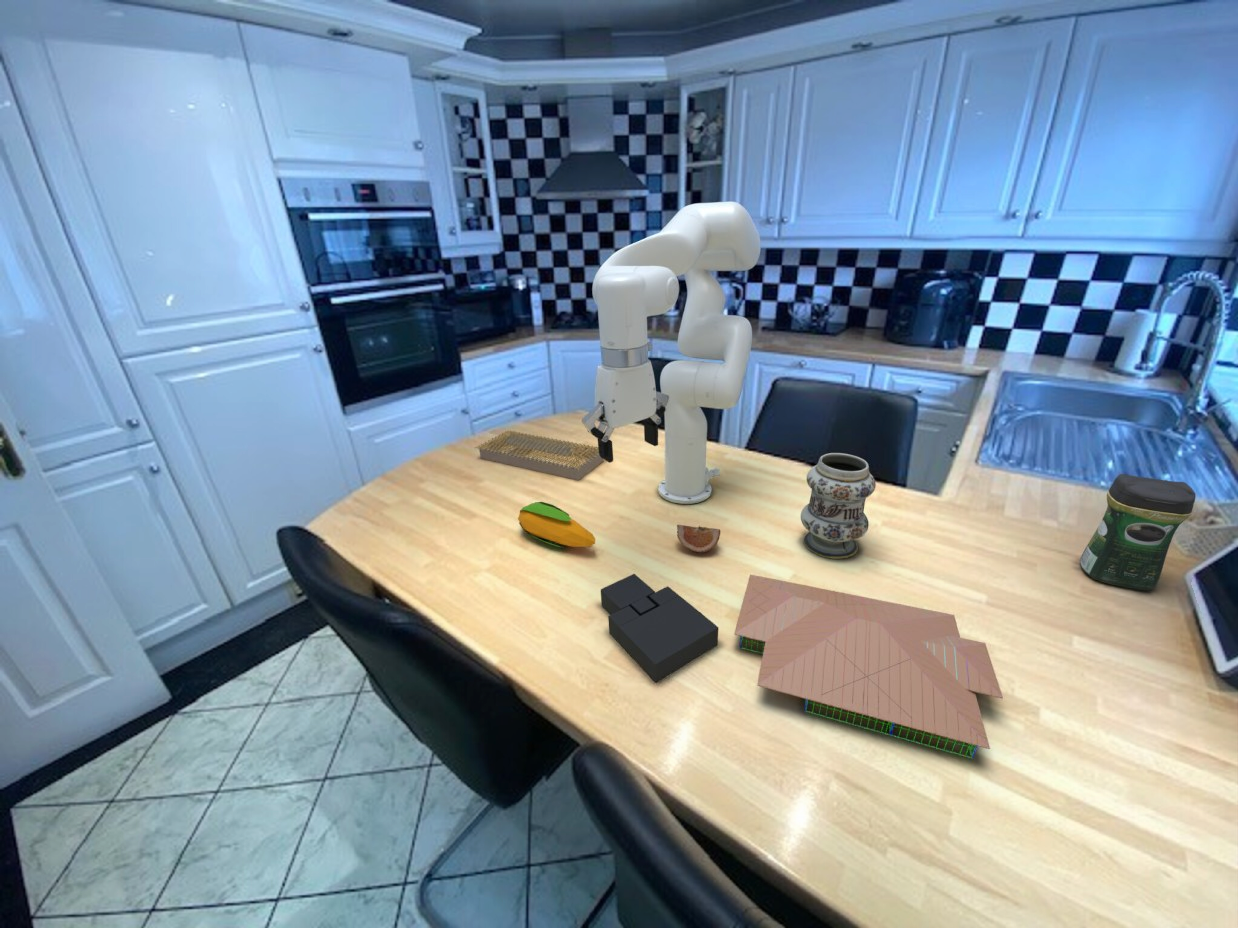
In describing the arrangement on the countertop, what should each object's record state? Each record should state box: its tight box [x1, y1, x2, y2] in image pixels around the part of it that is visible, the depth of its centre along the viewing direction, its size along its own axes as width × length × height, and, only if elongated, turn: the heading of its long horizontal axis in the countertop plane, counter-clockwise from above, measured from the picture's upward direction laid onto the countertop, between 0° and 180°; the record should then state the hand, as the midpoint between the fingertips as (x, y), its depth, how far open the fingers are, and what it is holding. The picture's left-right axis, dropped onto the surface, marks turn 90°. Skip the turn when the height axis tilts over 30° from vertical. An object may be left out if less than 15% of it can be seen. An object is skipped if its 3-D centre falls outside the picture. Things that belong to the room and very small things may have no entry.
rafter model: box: [474, 430, 605, 481], centre depth 140 cm, size 35×14×6 cm, turn 61°
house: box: [733, 573, 1004, 759], centre depth 71 cm, size 23×33×8 cm
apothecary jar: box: [800, 452, 877, 560], centre depth 96 cm, size 12×12×18 cm
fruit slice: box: [676, 524, 721, 553], centre depth 99 cm, size 8×7×5 cm
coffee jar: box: [1079, 473, 1196, 591], centre depth 84 cm, size 10×8×19 cm
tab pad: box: [600, 573, 656, 616], centre depth 84 cm, size 7×9×4 cm
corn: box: [517, 501, 596, 549], centre depth 103 cm, size 7×8×20 cm
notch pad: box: [607, 585, 719, 683], centre depth 78 cm, size 12×12×4 cm
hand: (629, 451), depth 89 cm, fingers open, 9 cm apart
